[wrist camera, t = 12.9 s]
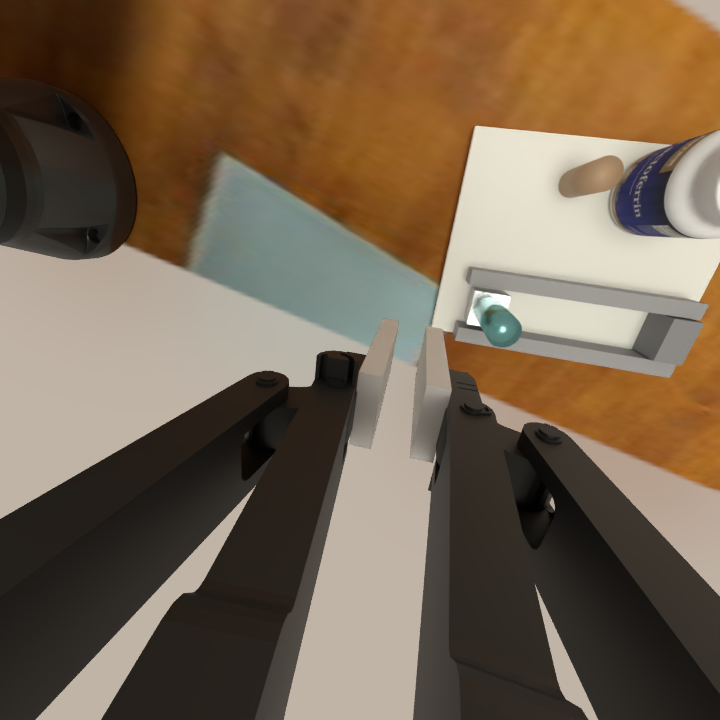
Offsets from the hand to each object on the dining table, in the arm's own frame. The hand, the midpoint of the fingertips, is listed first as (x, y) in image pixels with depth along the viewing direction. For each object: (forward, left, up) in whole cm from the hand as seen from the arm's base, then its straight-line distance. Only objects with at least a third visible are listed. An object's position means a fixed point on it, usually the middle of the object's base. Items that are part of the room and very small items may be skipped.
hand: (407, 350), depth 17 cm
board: (+12, +5, -16) cm, 21 cm away
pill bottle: (+16, +10, -15) cm, 24 cm away
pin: (+6, 0, -15) cm, 16 cm away
